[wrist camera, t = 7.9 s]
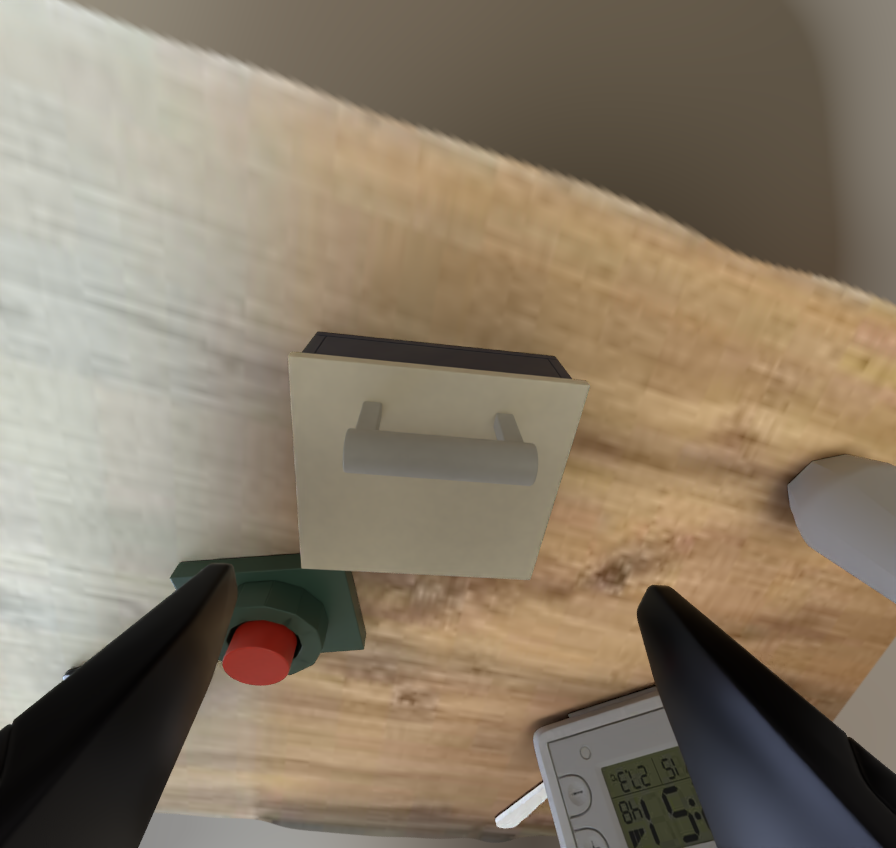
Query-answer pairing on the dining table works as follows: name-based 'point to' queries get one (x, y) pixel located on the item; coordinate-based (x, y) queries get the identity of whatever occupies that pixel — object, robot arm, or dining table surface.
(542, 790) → the spoon
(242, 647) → the alarm button
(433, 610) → the dining table surface
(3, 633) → the dining table surface
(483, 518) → the beige panel
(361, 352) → the dark rimmed tray
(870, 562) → the salt shaker
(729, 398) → the dining table surface
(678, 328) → the dining table surface
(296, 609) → the alarm box
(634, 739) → the digital clock
